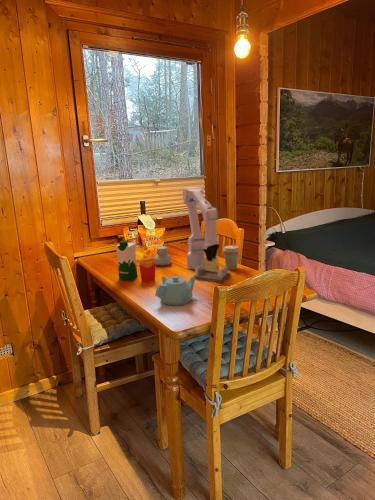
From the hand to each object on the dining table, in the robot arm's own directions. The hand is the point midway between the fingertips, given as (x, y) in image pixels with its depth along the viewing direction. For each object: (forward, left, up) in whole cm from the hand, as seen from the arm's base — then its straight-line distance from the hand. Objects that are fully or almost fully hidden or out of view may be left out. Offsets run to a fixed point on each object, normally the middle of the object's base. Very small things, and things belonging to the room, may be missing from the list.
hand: (211, 259), depth 183 cm
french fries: (-27, -17, -10) cm, 33 cm away
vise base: (0, 0, -9) cm, 9 cm away
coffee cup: (+3, +18, -10) cm, 21 cm away
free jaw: (+6, 0, -8) cm, 10 cm away
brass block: (0, 0, -5) cm, 5 cm away
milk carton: (-39, -18, -10) cm, 44 cm away
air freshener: (-36, +10, -10) cm, 39 cm away
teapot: (-1, -33, -10) cm, 34 cm away
